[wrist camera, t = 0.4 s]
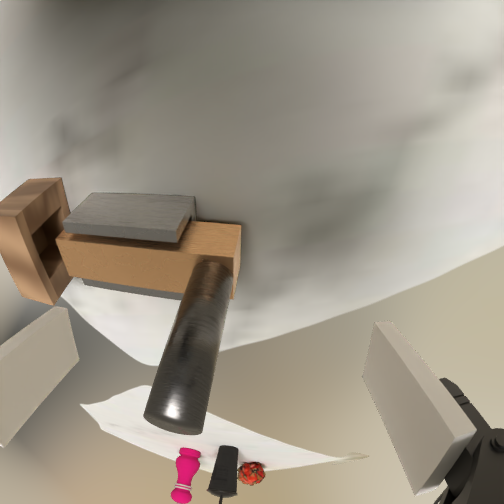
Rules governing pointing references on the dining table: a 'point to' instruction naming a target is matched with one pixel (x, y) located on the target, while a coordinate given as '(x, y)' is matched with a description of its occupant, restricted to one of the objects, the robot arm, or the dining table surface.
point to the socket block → (35, 238)
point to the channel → (132, 225)
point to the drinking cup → (224, 473)
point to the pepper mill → (185, 474)
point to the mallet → (189, 313)
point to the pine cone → (250, 473)
